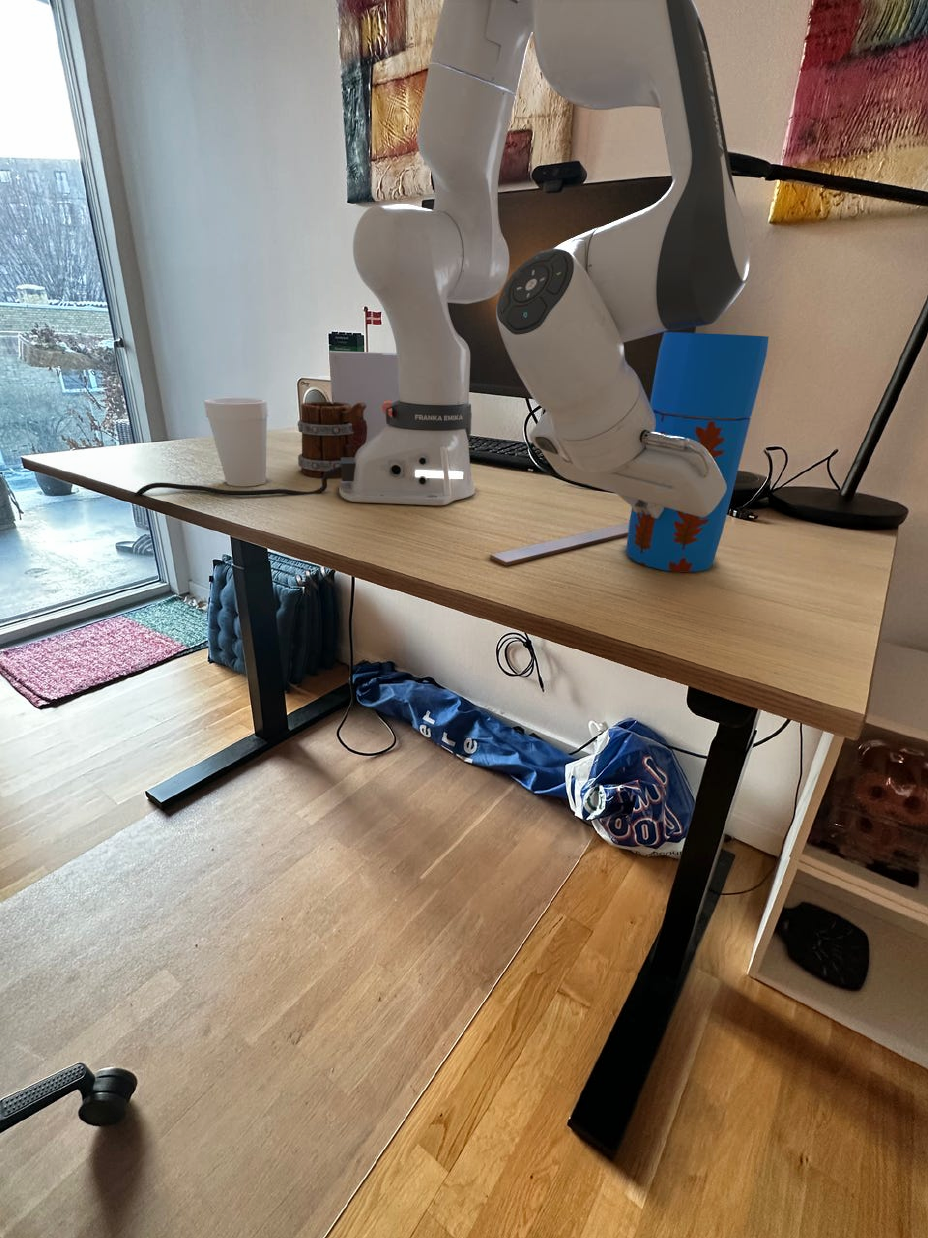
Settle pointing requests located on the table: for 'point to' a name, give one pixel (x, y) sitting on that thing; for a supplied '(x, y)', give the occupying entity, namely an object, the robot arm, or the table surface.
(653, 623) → the table surface
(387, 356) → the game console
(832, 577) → the table surface
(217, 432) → the foam cup
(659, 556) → the thermos
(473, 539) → the table surface
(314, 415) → the mug
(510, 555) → the ruler
